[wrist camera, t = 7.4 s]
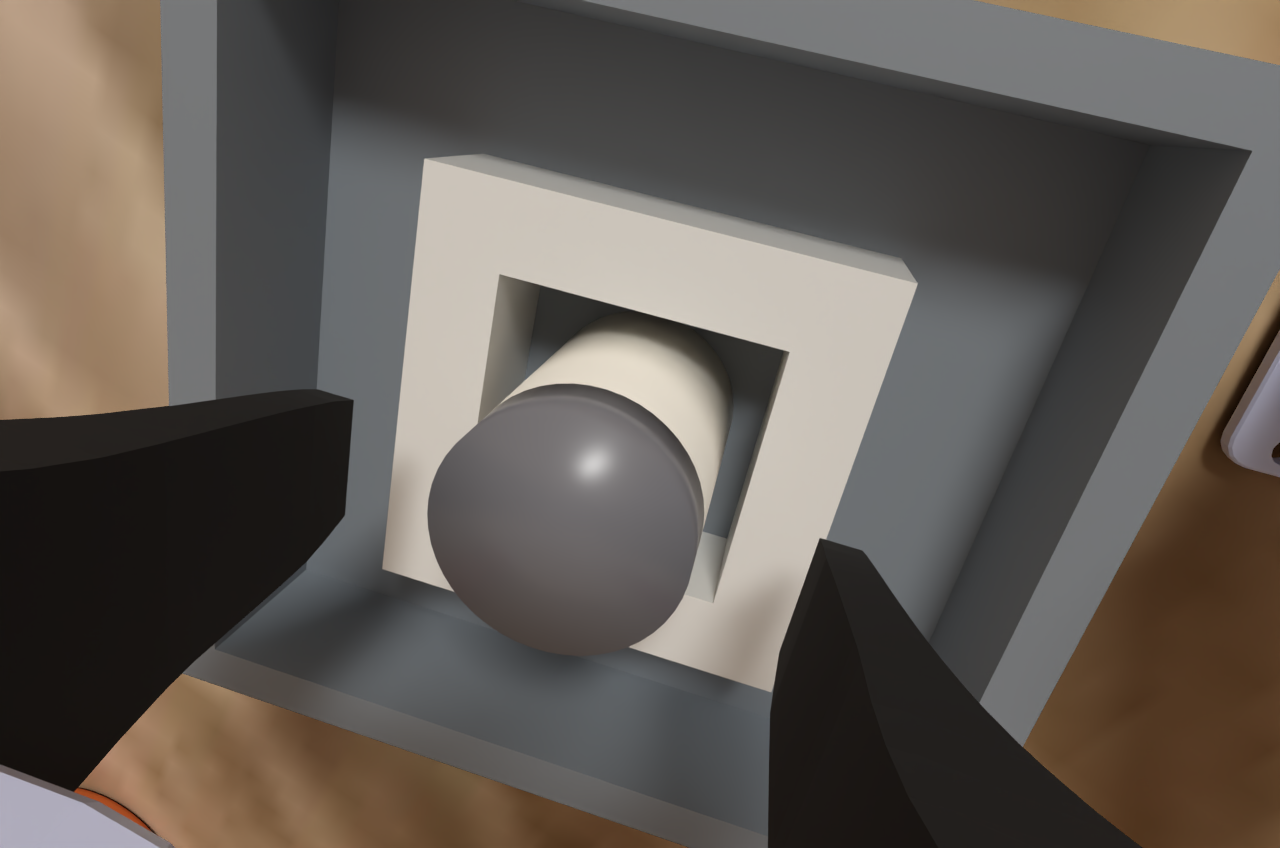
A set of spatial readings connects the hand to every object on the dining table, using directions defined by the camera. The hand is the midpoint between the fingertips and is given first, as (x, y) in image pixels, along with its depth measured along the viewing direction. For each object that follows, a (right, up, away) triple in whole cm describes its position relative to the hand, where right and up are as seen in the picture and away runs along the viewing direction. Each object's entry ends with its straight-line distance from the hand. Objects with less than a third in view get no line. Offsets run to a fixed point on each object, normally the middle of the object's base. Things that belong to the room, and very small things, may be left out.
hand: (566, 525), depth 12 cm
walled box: (+1, +2, +6) cm, 6 cm away
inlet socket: (+1, +2, +6) cm, 6 cm away
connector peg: (+1, +2, +5) cm, 6 cm away
